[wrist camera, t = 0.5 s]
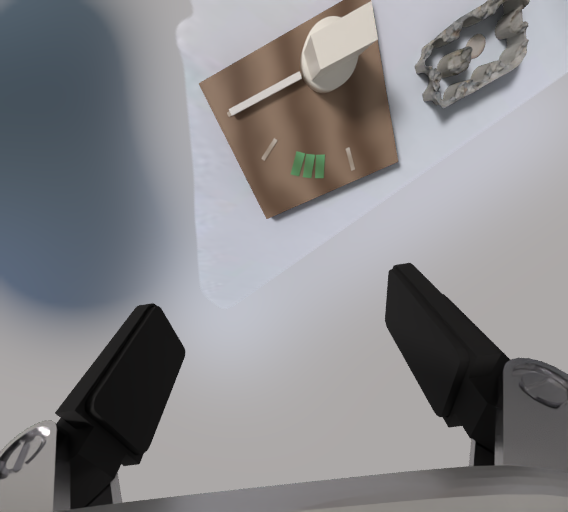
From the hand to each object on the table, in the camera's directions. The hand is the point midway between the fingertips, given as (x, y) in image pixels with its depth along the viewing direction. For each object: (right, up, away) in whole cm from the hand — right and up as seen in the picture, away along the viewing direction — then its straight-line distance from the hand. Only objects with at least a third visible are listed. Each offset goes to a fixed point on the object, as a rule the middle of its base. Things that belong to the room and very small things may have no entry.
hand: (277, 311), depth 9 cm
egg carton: (+22, +27, +19) cm, 39 cm away
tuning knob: (+1, +22, +17) cm, 28 cm away
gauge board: (+3, +20, +21) cm, 29 cm away
